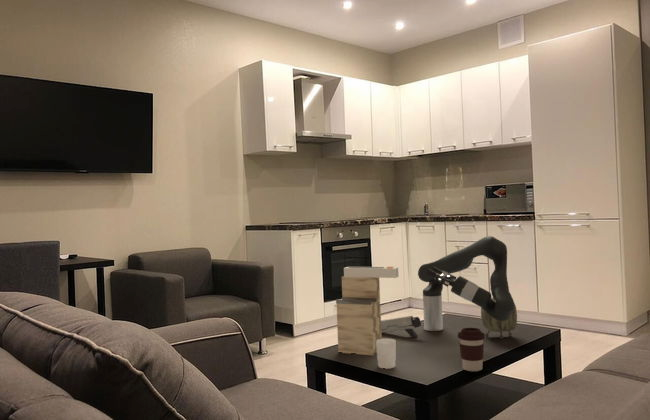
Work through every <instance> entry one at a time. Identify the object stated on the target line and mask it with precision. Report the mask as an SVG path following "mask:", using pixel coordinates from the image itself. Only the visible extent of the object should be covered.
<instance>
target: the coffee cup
mask: <svg viewBox="0 0 650 420" xmlns="http://www.w3.org/2000/svg"><path fill="white" fill-rule="evenodd" d="M485 334H486V333H484V332H483V331H481V329H480V328H476V327H465V328H462V329H461V331H459V332H457V338H458V339H459V352H460V358H461V364H462V369H463V370H464V371H468V372H479V371H482V370H483V360H484V351H485V350H484V347H485V344H484V340H485V338H486V336H485Z"/></svg>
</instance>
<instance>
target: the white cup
mask: <svg viewBox="0 0 650 420" xmlns="http://www.w3.org/2000/svg"><path fill="white" fill-rule="evenodd" d="M396 344H397V341H396V339H394V338H382V339H378V340H376V351H377V353H376V359H377V366H378V368H380V369H383V368H385V369H386V370H387V369H394V368H395V367H396V359H397V357H396V356H397V345H396Z"/></svg>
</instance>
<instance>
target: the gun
mask: <svg viewBox="0 0 650 420" xmlns="http://www.w3.org/2000/svg"><path fill="white" fill-rule="evenodd" d="M421 326H422V322H421V319H420V317H419V316H415V317H413V315H410V316H409V315H408V316H402V317H395V318H389V319H384V320H383V319H381V334H383V333H385V334H386V333H392V332H398V331H399V332H400V331H405V332H406V333H407V334H408V335H409V336H410V337H411V338H417V337H418V336H419V335H418V334H417V333H416V332H415V330H414V329H417V328H419V327H421Z"/></svg>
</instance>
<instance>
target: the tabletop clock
mask: <svg viewBox="0 0 650 420" xmlns="http://www.w3.org/2000/svg"><path fill="white" fill-rule="evenodd" d="M491 299H492V300H493V301H494V302H495V303H496V299H495V298H494V297H493V296H492V297H491ZM480 308H481V307H480ZM517 313H518V311H517V306H516V303H515V302H514V310H513V311H512V313H511V315H510V317H509V319H508V320H506V321H498V320H496V319H494V318H493V317H492V316H490V315H489V314H488V313H487V312H486V311H485V310H483V309H482V308H481V309H480V315H481V322H482V323H481V324H482V325H483V327H484V328H485V329H486V330H487V332H486V333H484V334H485V337H489V335H490V334H489V333H490V332H499V334H500V335H499V339H500V340H502V339H504V335H502V334H503V332H504V333H505V332H508V333H507V334H508V336H509V337H511V336H512V332H511V331H514V330H515V329H516V328H517V324H518V323H517V322H518V314H517Z"/></svg>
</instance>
